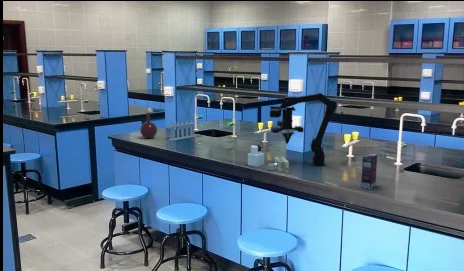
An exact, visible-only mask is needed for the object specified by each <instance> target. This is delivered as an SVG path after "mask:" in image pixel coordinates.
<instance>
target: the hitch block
mask: <svg viewBox="0 0 464 271" xmlns="http://www.w3.org/2000/svg"><path fill="white" fill-rule="evenodd" d="M288 161H289V160H287V159H286V158H285V157H284V156H279V157H278V156H277V157H276V156H275V157H274V163H278V167H274V168H275V170H276V171H277V172H278V173H280V174H283V173H284V174H285V173H286V174H287V173H289V170H290V161H289V162H288Z"/></svg>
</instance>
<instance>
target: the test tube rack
mask: <svg viewBox="0 0 464 271" xmlns="http://www.w3.org/2000/svg"><path fill="white" fill-rule="evenodd" d="M195 124H197V122H193V120H192V119H191V120H189V122H188V120H186V121H185V123H184V121H181V122H180V123H179V122H178V121H177V122H176V124H175V122H172V123H171V125H167V127H169V128H170V134H169V136H170V138H168V139H167V140H168V141H171V142H172V141H178V140H182V139H189V138H194V137H197V135H196V134H195ZM184 126H185V132H184ZM175 127H176V137H175ZM180 128H181V129H180ZM180 133H181V136H180ZM189 134H190V135H189Z"/></svg>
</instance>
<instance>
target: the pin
mask: <svg viewBox="0 0 464 271" xmlns="http://www.w3.org/2000/svg"><path fill="white" fill-rule="evenodd" d="M287 161H288V162H289V163H290V161H289V160H287ZM267 166H268V168H275V167H278V163H273V162H270V163H268V164H267Z"/></svg>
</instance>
